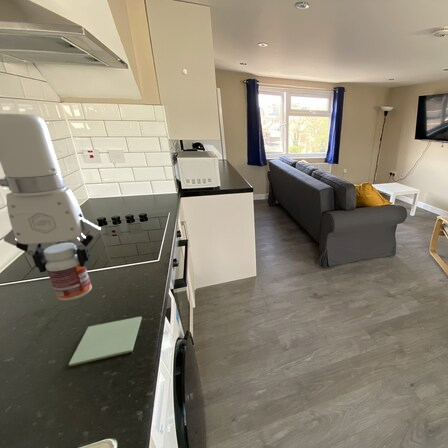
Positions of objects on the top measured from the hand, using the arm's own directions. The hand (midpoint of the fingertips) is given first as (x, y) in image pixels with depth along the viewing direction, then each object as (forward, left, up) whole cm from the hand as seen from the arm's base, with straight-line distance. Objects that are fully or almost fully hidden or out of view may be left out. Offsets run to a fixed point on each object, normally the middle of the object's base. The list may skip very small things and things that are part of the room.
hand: (66, 265), depth 56 cm
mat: (+4, -1, -21) cm, 21 cm away
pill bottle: (0, 0, -7) cm, 7 cm away
